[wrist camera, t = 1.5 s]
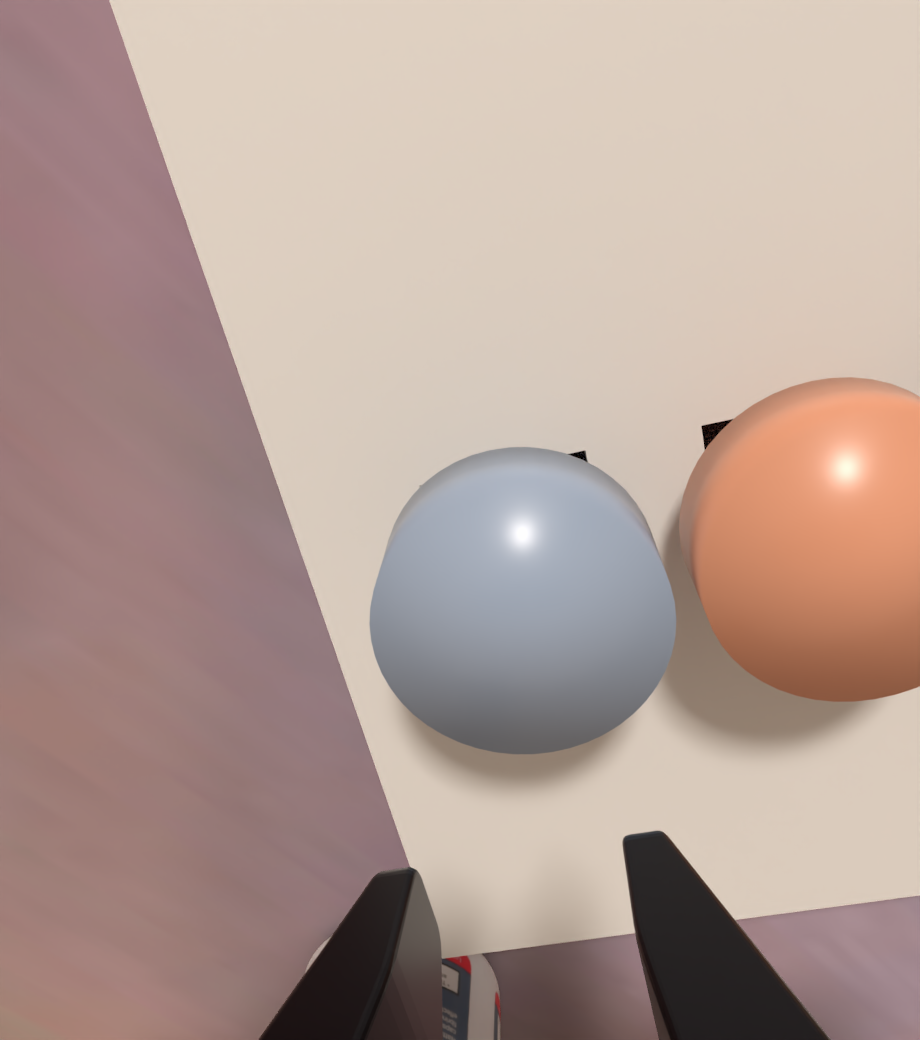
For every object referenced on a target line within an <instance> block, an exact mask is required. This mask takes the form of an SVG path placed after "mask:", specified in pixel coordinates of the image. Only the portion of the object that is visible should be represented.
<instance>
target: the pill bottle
mask: <svg viewBox="0 0 920 1040" xmlns="http://www.w3.org/2000/svg"><path fill="white" fill-rule="evenodd" d="M330 938H331V937H329V938H328V939H327V940H326V941H325V942H323V943H322V944H321V946H320V947H319V948H318V949H317V950H316V952H315V953H314V954H313V956H312V958H311V960H310V961H309V963H308V966H307V968H306V971H305V973H306V972H307V970H308V969H309V967H310V966H311V965H312V963H313V962H314V960H315V959H316V958H317V956H318V955H319V953H320V952H321V950H322V949H323V948H324V946H325V945H326V943H327V942H328V941H329V939H330ZM304 975H305V974H304ZM500 1021H501V1012H500V992H499V987H498V982H497V979H496V976H495V974H494V972H493V970H492V967H491V966H490V964H489V962H488V961H487V960H486V958H485V957H484V956H483V954H482V953H481V954H474V955H466V956H459V957H451V958H444V959H442V1022H443V1040H500Z"/></svg>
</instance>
